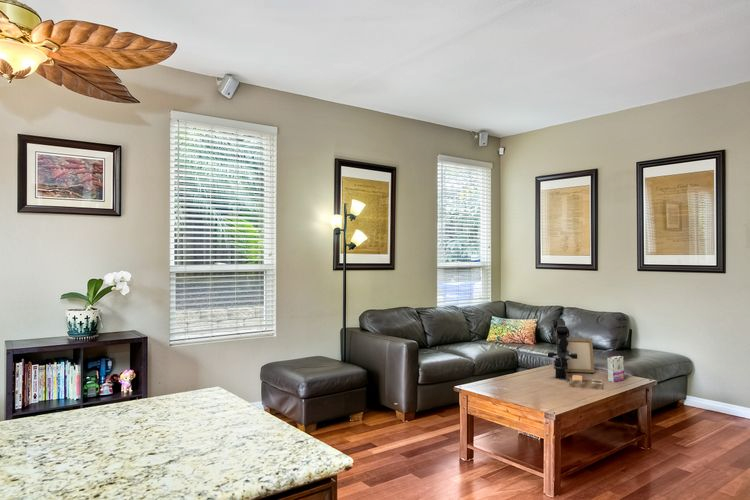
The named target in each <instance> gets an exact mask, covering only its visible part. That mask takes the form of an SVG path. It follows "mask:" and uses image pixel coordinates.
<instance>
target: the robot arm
mask: <svg viewBox="0 0 750 500" xmlns="http://www.w3.org/2000/svg"><path fill="white" fill-rule="evenodd" d="M552 329H553V331H554V333H555V335H556V337H555V339H556V352H555V351H548V353H547V357H548V358H554V357H555V358H554V360H553V369H554V370H555V378H556V379H566V378H567V372H566V371H565V369H566V370H567V369H568V363H567V360H569V359H570V357H571V358H572V359H577V358H578V354H577V353H571V354H569V351H568V350H567V346H568V341H567V338H570V334H571V333H570V329H569V328H568V326H567V325H566V321H565V320H564V318H559V317H557V318H555V320H554V321H552Z"/></svg>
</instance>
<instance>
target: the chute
mask: <svg viewBox="0 0 750 500" xmlns="http://www.w3.org/2000/svg"><path fill="white" fill-rule="evenodd" d="M568 386H569V388H572V387H573V388H580V389H582V388H583V389H592V390H593V389H594V390H603V380H600V379H584V378H582V382H581V381H580V380H573V381H572V378H571V377H569V381H568Z"/></svg>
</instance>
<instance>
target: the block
mask: <svg viewBox="0 0 750 500" xmlns="http://www.w3.org/2000/svg"><path fill="white" fill-rule="evenodd" d="M582 379H583V375H577V374H573V375H572V381H573V380H580V381H581V382H582Z"/></svg>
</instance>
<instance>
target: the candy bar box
mask: <svg viewBox="0 0 750 500" xmlns="http://www.w3.org/2000/svg"><path fill="white" fill-rule="evenodd" d="M606 360H607V381H608V382H610V383H611V382H613V383H616V382H617V381H618V382H621V381H625V363H624V362H625V359H624V356H621V355H614V356H608V357H607V359H606Z"/></svg>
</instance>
